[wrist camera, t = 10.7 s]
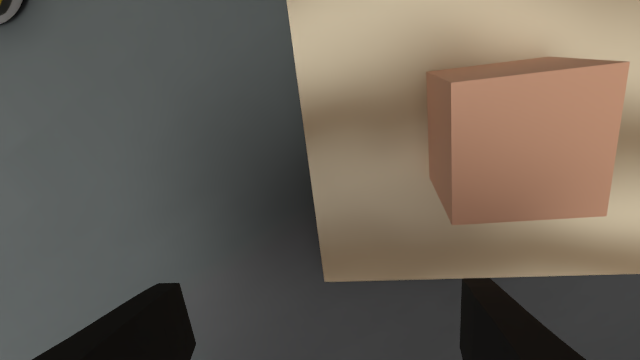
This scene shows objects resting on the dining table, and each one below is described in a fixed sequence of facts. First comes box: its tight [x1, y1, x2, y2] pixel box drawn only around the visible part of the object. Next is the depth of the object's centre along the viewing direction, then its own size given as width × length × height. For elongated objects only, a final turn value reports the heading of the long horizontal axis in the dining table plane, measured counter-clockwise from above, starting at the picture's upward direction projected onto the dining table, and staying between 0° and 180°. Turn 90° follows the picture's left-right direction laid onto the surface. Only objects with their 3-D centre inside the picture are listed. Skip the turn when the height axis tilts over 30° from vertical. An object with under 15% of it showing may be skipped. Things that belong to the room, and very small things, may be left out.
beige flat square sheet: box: [287, 0, 640, 282], centre depth 15 cm, size 15×15×1 cm
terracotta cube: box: [426, 57, 630, 225], centre depth 13 cm, size 4×4×4 cm
